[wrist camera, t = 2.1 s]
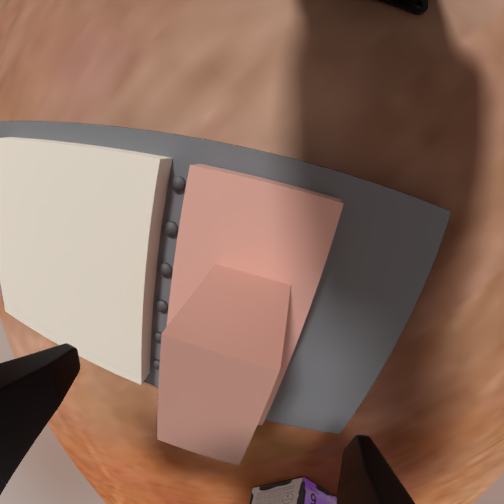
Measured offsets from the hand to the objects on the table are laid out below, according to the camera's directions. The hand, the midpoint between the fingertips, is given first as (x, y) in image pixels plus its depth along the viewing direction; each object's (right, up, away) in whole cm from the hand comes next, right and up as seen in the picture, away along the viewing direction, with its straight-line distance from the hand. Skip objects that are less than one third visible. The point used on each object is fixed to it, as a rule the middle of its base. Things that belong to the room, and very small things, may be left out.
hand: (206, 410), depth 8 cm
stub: (+1, +2, +6) cm, 6 cm away
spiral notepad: (-9, +4, +7) cm, 12 cm away
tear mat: (-4, +4, +7) cm, 9 cm away
